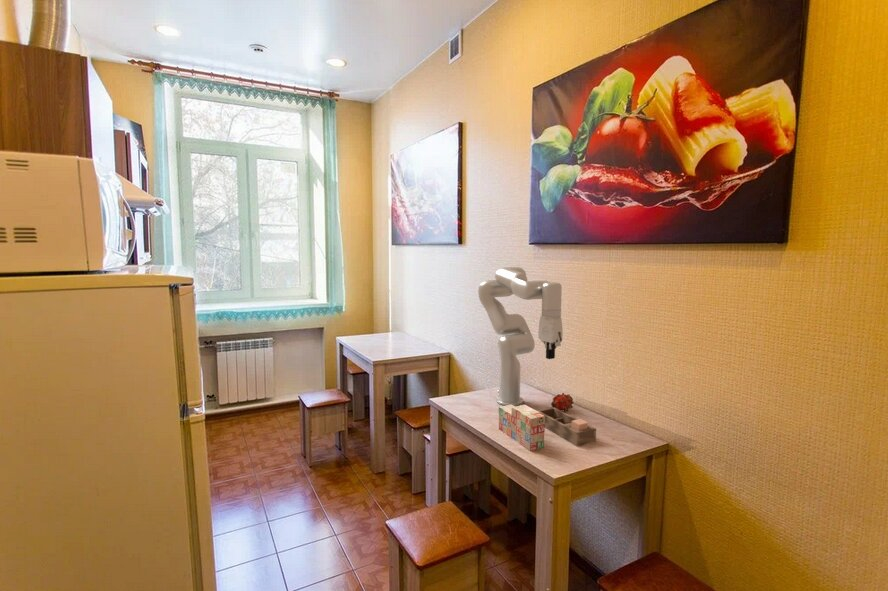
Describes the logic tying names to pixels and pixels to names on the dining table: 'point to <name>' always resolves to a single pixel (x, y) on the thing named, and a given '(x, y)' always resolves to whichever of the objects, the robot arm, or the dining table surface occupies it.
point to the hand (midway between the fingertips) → (550, 358)
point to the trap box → (567, 427)
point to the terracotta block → (579, 425)
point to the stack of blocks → (523, 425)
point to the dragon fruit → (562, 402)
